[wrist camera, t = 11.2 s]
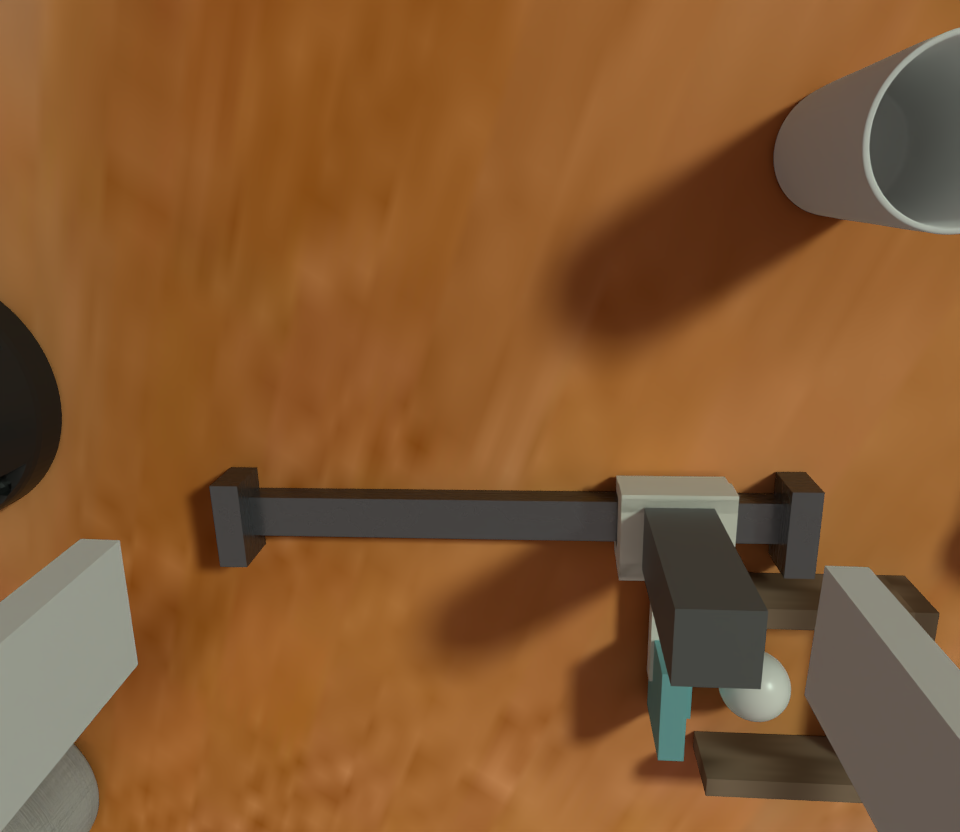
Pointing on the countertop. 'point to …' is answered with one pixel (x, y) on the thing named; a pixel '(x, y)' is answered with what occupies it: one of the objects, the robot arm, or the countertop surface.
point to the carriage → (689, 594)
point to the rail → (489, 516)
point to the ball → (761, 694)
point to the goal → (791, 758)
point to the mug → (881, 142)
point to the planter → (61, 799)
